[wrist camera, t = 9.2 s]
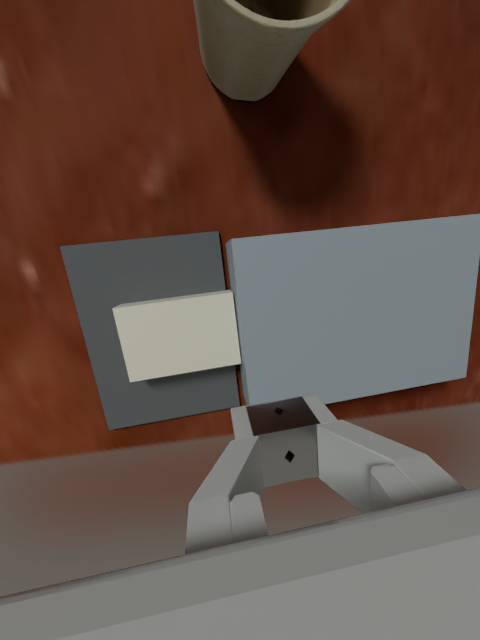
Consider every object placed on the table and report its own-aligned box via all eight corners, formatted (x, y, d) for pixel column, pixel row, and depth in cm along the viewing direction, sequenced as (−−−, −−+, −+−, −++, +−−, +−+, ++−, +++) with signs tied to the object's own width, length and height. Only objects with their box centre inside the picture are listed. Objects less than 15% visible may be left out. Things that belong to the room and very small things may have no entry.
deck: (437, 221, 23) (484, 213, 20) (427, 360, 27) (465, 377, 23) (225, 243, 21) (231, 239, 17) (243, 393, 24) (251, 418, 20)
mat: (218, 231, 21) (218, 231, 20) (239, 403, 24) (239, 406, 24) (62, 246, 19) (59, 246, 19) (110, 427, 23) (108, 430, 23)
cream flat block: (229, 289, 21) (232, 292, 20) (238, 355, 23) (241, 363, 21) (120, 304, 20) (112, 308, 18) (136, 371, 22) (129, 382, 20)
